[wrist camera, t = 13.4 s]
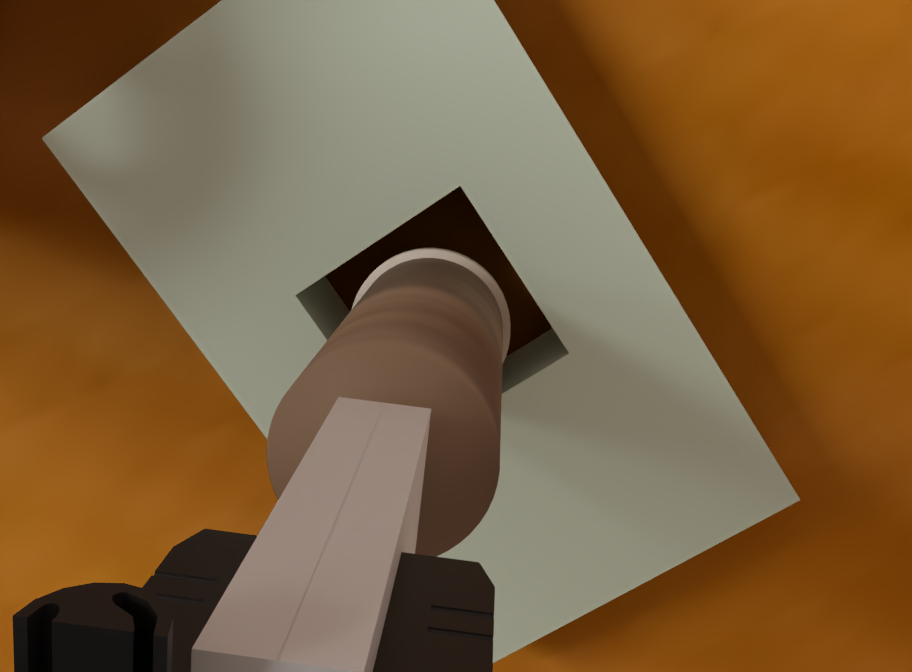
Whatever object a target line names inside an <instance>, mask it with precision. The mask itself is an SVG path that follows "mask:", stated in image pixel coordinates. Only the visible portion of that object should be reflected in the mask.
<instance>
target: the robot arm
mask: <svg viewBox="0 0 912 672" xmlns="http://www.w3.org/2000/svg"><path fill="white" fill-rule="evenodd" d="M430 416H431V409H430V408H422V407H414V406H406V405H399V404H391V403H383V402H375V401H367V400H359V399H352V398H344V397H338V399H337V401H336V402H335V404H334V406H333V407H332V409H331V411H330V413H329V414H328V416H327V418H326V419H325V421H324V423H323V425H322V426H321V428H320V430H319V431H318V433H317V435H316V437H315V438H314V440H313V442H312V443H311V445H310V447H309V449H308V450H307V452H306V454H305V455H304V457H303V459H302V461H301V462H300V464H299V466H298V467H297V469H296V471H295V473H294V474H293V476H292V478H291V479H290V481H289V483H288V485H287V486H286V488H285V490H284V491H283V493H282V495H281V497H280V498H279V500H278V502H277V503H276V505H275V507H274V509H273V510H272V512H271V514H270V515H269V517H268V519H267V521H266V522H265V524H264V526H263V527H262V529H261V531H260V533H259V534H258V536H255V535H248V534H240V533H232V532H225V531H217V530H210V529H204V530H202V531H200V532H198V533H197V534H195V535H193V536H191V537H190V538H188V539H186V540H185V541H183V542H181V543H179V544H178V545H176V546H174V547H173V548H172V549H171V551H170V552H169V553H168V555H167V556H166V557H165V559H164V560H163V561H162V563H161V564H160V565H159V567H158V568H157V569H156V571H155V575H154V576H151V577H150V578H149V580H148V581H147V582H146V584H145V585H144V586H143V588H140V587H136V586H132V585H128V584H125V583H90V584H85V585H79V586H73V587H68V588H63V589H60V590H58V591H55V592H53V593H50V594H48V595H45V596H43V597H40V598H38V599H35V600H34V601H32V602H31V603H29V604H28V605H27V606H25V607H24V608H23V609H21V610H20V611H19V612H17V613H16V614H14V615H13V639H14V672H492V669H493V635H494V602H495V586H494V585H493V583H492V581H491V580H490V578H489V577H488V575H487V574H486V572H485V570H484V569H483V567H482V566H481V564H480V563H479V562H473V561H465V560H458V559H450V558H443V557H435V556H428V555H420V554H415V550H416V541H417V532H418V523H419V514H420V505H421V496H422V487H423V478H424V469H425V461H426V452H427V443H428V434H429V425H430Z"/></svg>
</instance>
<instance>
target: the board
mask: <svg viewBox="0 0 912 672" xmlns="http://www.w3.org/2000/svg"><path fill="white" fill-rule="evenodd" d="M42 140H43V141H44V142H45V144H46V145H47V146H48V148H49V149H50V150H51V152H52V153H53V154H54V156H55V157H56V158H57V160H58V161H59V162H60V164H61V165H62V166H63V168H64V169H65V170H66V172H67V173H68V174H69V176H70V177H71V178H72V180H73V181H74V182H75V184H76V185H77V186H78V188H79V189H80V190H81V192H82V193H83V194H84V196H85V197H86V198H87V200H88V201H89V202H90V204H91V205H92V206H93V208H94V209H95V210H96V212H97V213H98V214H99V216H100V217H101V218H102V220H103V221H104V222H105V224H106V225H107V226H108V228H109V229H110V230H111V232H112V233H113V234H114V236H115V237H116V238H117V240H118V241H119V242H120V244H121V245H122V246H123V248H124V249H125V250H126V252H127V253H128V254H129V256H130V257H131V258H132V260H133V261H134V262H135V264H136V265H137V266H138V268H139V269H140V270H141V272H142V273H143V274H144V276H145V277H146V278H147V280H148V281H149V282H150V284H151V285H152V286H153V288H154V289H155V290H156V292H157V293H158V294H159V296H160V297H161V298H162V300H163V301H164V302H165V304H166V305H167V306H168V308H169V309H170V310H171V312H172V313H173V314H174V316H175V317H176V318H177V320H178V321H179V322H180V324H181V325H182V326H183V328H184V329H185V330H186V332H187V333H188V334H189V336H190V337H191V338H192V340H193V341H194V342H195V344H196V345H197V346H198V348H199V349H200V350H201V352H202V353H203V354H204V356H205V357H206V358H207V360H208V361H209V362H210V364H211V365H212V366H213V368H214V369H215V370H216V372H217V373H218V374H219V376H220V377H221V378H222V380H223V381H224V382H225V384H226V385H227V386H228V388H229V389H230V390H231V392H232V393H233V394H234V396H235V397H236V398H237V400H238V401H239V402H240V404H241V405H242V406H243V408H244V409H245V410H246V412H247V413H248V414H249V416H250V417H251V418H252V420H253V421H254V422H255V424H256V425H257V426H258V428H259V429H260V430H261V432H262V433H263V434H264V436H265V437H266V438H267V440H268V433H269V429H270V424H271V421H272V419H273V416H274V413H275V411H276V409H277V407H278V405H279V403H280V401H281V400H282V398H283V396H284V395H285V394H286V392H287V391H288V390H289V388H290V387H291V386H292V384H293V383H294V382H295V381H296V379H297V378H298V377H299V376H300V374H301V373H302V372H303V370H304V369H305V368H306V367H307V365H308V364H309V363H310V362H311V360H312V359H313V358H314V357H315V355H316V354H317V353H318V352H319V350H320V349H321V348H322V347H323V345H324V344H325V343H326V342H327V340H328V339H329V338H330V336H331V335H332V334H333V333H334V331H335V330H336V329H337V328H338V326H339V325H340V324H341V323H342V321H343V320H344V319H345V318H346V316H347V315H348V314H349V313H350V311H349V309H348V308H347V307H346V305H345V304H344V302H343V301H342V299H341V298H340V297H339V295H338V294H337V292H336V291H335V290H334V288H333V287H332V285H331V284H330V282H329V281H328V280H327V278H326V277H325V275H327V274H328V273H330V272H331V271H333V270H334V269H336V268H337V267H339V266H340V265H342V264H343V263H345V262H346V261H348V260H349V259H351V258H352V257H354V256H355V255H357V254H358V253H360V252H361V251H363V250H364V249H366V248H367V247H369V246H370V245H372V244H373V243H375V242H376V241H378V240H379V239H381V238H382V237H384V236H385V235H387V234H388V233H390V232H391V231H393V230H394V229H396V228H397V227H399V226H400V225H402V224H403V223H405V222H406V221H408V220H409V219H411V218H412V217H414V216H415V215H417V214H418V213H420V212H421V211H423V210H424V209H426V208H427V207H429V206H430V205H432V204H433V203H435V202H436V201H438V200H439V199H441V198H443V197H444V196H446V195H447V194H449V193H450V192H452V191H453V190H455V189H456V188H458V187H459V186H461V188H462V189H463V191H464V192H465V194H466V196H467V197H468V199H469V200H470V202H471V203H472V205H473V206H474V208H475V209H476V211H477V212H478V214H479V216H480V217H481V219H482V220H483V222H484V223H485V225H486V226H487V228H488V229H489V231H490V232H491V234H492V235H493V237H494V239H495V240H496V242H497V243H498V245H499V246H500V248H501V249H502V251H503V252H504V254H505V255H506V257H507V259H508V260H509V262H510V263H511V265H512V266H513V268H514V269H515V271H516V272H517V274H518V275H519V277H520V279H521V280H522V282H523V283H524V285H525V286H526V288H527V289H528V291H529V292H530V294H531V295H532V297H533V298H534V300H535V302H536V303H537V305H538V306H539V308H540V309H541V311H542V312H543V314H544V315H545V317H546V318H547V320H548V322H549V323H550V325H551V326H552V329H550V330H549V331H547V332H545V333H544V334H542V335H540V336H539V337H537V338H535V339H534V340H532V341H531V342H529V343H527V344H526V345H524V346H522V347H521V348H519V349H517V350H516V351H514V352H513V353H511V354H509V355H508V356H506V358H505V360H504V362H503V364H502V397H501V438H500V472H499V479H498V485H497V488H496V491H495V495H494V498H493V500H492V502H491V505H490V507H489V509H488V511H487V513H486V514H485V516H484V517H483V519H482V520H481V522H480V523H479V524H478V526H477V527H476V528H475V529H474V530H473V531H472V532H471V534H470V535H468V536H467V537H466V538H465V539H464V540H463V541H462V542H460V543H459V544H458V545H456V546H455V547H453V548H452V549H450V550H449V551H447V552H445V553H443V554H441V555H439V556H437V557H443V558H450V559H458V560H465V561H473V562H479V563H480V564H481V566H482V567H483V569H484V570H485V572H486V574H487V575H488V577H489V578H490V580H491V581H492V583H493V585H494V586H495V602H494V635H493V663H494V662H496V661H498V660H500V659H502V658H504V657H506V656H507V655H509V654H511V653H513V652H515V651H517V650H519V649H521V648H523V647H524V646H526V645H528V644H530V643H532V642H534V641H536V640H538V639H539V638H541V637H543V636H545V635H547V634H549V633H551V632H553V631H555V630H556V629H558V628H560V627H562V626H564V625H566V624H568V623H570V622H572V621H573V620H575V619H577V618H579V617H581V616H583V615H585V614H587V613H588V612H590V611H592V610H594V609H596V608H598V607H600V606H602V605H604V604H605V603H607V602H609V601H611V600H613V599H615V598H617V597H619V596H621V595H622V594H624V593H626V592H628V591H630V590H632V589H634V588H636V587H637V586H639V585H641V584H643V583H645V582H647V581H649V580H651V579H653V578H654V577H656V576H658V575H660V574H662V573H664V572H666V571H668V570H670V569H671V568H673V567H675V566H677V565H679V564H681V563H683V562H685V561H686V560H688V559H690V558H692V557H694V556H696V555H698V554H700V553H702V552H703V551H705V550H707V549H709V548H711V547H713V546H715V545H717V544H719V543H720V542H722V541H724V540H726V539H728V538H730V537H732V536H734V535H735V534H737V533H739V532H741V531H743V530H745V529H747V528H749V527H751V526H752V525H754V524H756V523H758V522H760V521H762V520H764V519H766V518H768V517H769V516H771V515H773V514H775V513H777V512H779V511H781V510H783V509H785V508H786V507H788V506H790V505H792V504H794V503H796V502H798V501H800V499H799V497H798V495H797V494H796V492H795V490H794V489H793V487H792V485H791V484H790V482H789V481H788V479H787V477H786V476H785V474H784V472H783V471H782V469H781V468H780V466H779V464H778V463H777V461H776V459H775V458H774V456H773V454H772V453H771V451H770V450H769V448H768V446H767V445H766V443H765V441H764V440H763V438H762V437H761V435H760V433H759V432H758V430H757V428H756V427H755V425H754V423H753V422H752V420H751V419H750V417H749V415H748V414H747V412H746V410H745V409H744V407H743V406H742V404H741V402H740V401H739V399H738V397H737V396H736V394H735V392H734V391H733V389H732V388H731V386H730V384H729V383H728V381H727V379H726V378H725V376H724V375H723V373H722V371H721V370H720V368H719V366H718V365H717V363H716V361H715V360H714V358H713V357H712V355H711V353H710V352H709V350H708V348H707V347H706V345H705V344H704V342H703V340H702V339H701V337H700V335H699V334H698V332H697V330H696V329H695V327H694V326H693V324H692V322H691V321H690V319H689V317H688V316H687V314H686V313H685V311H684V309H683V308H682V306H681V304H680V303H679V301H678V299H677V298H676V296H675V295H674V293H673V291H672V290H671V288H670V286H669V285H668V283H667V282H666V280H665V278H664V277H663V275H662V273H661V272H660V270H659V268H658V267H657V265H656V264H655V262H654V260H653V259H652V257H651V255H650V254H649V252H648V251H647V249H646V247H645V246H644V244H643V242H642V241H641V239H640V237H639V236H638V234H637V233H636V231H635V229H634V228H633V226H632V224H631V223H630V221H629V220H628V218H627V216H626V215H625V213H624V211H623V210H622V208H621V206H620V205H619V203H618V202H617V200H616V198H615V197H614V195H613V193H612V192H611V190H610V189H609V187H608V185H607V184H606V182H605V180H604V179H603V177H602V175H601V174H600V172H599V171H598V169H597V167H596V166H595V164H594V162H593V161H592V159H591V158H590V156H589V154H588V153H587V151H586V149H585V148H584V146H583V144H582V143H581V141H580V140H579V138H578V136H577V135H576V133H575V131H574V130H573V128H572V127H571V125H570V123H569V122H568V120H567V118H566V117H565V115H564V113H563V112H562V110H561V109H560V107H559V105H558V104H557V102H556V100H555V99H554V97H553V96H552V94H551V92H550V91H549V89H548V87H547V86H546V84H545V82H544V81H543V79H542V78H541V76H540V74H539V73H538V71H537V69H536V68H535V66H534V65H533V63H532V61H531V60H530V58H529V56H528V55H527V53H526V51H525V50H524V48H523V47H522V45H521V43H520V42H519V40H518V38H517V37H516V35H515V34H514V32H513V30H512V29H511V27H510V25H509V24H508V22H507V20H506V19H505V17H504V16H503V14H502V12H501V11H500V9H499V7H498V6H497V4H496V3H495V1H494V0H221V1H220V2H219V3H217V4H216V5H215V6H213V7H212V8H211V9H209V10H208V11H207V12H205V13H204V14H203V15H202V16H200V17H199V18H198V19H196V20H195V21H194V22H192V23H191V24H190V25H188V26H187V27H186V28H185V29H183V30H182V31H181V32H179V33H178V34H177V35H175V36H174V37H173V38H172V39H170V40H169V41H168V42H166V43H165V44H164V45H162V46H161V47H160V48H158V49H157V50H156V51H155V52H153V53H152V54H151V55H149V56H148V57H147V58H145V59H144V60H143V61H141V62H140V63H139V64H138V65H136V66H135V67H134V68H132V69H131V70H130V71H128V72H127V73H126V74H124V75H123V76H122V77H121V78H119V79H118V80H117V81H115V82H114V83H113V84H111V85H110V86H109V87H107V88H106V89H105V90H104V91H102V92H101V93H100V94H98V95H97V96H96V97H94V98H93V99H92V100H91V101H89V102H88V103H87V104H85V105H84V106H83V107H81V108H80V109H79V110H77V111H76V112H75V113H74V114H72V115H71V116H70V117H68V118H67V119H66V120H64V121H63V122H62V123H60V124H59V125H58V126H57V127H55V128H54V129H53V130H51V131H50V132H49V133H47V134H46V135H45V136H43V137H42Z"/></svg>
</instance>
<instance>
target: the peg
mask: <svg viewBox="0 0 912 672" xmlns="http://www.w3.org/2000/svg"><path fill="white" fill-rule="evenodd" d="M510 328H511V325H510V314H509V309H508V305H507V302H506V299H505V297H504V294H503V292H502V290H501V289H500V287H499V285H498V283H497V282H496V281H495V279H494V278H493V277H492V275H491V274H490V273H489V272H488V271H487V270H486V269H485V268H484V267H482V266H481V265H480V264H478V263H477V262H476V261H474V260H472V259H471V258H469V257H467V256H465V255H463V254H460V253H458V252H455V251H452V250H448V249H442V248H427V247H425V248H417V249H412V250H408V251H404V252H402V253H400V254H397V255H395V256H393V257H391V258H390V259H388V260H386V261H385V262H383V263H382V264H381V265H380V266H378V267H377V268H376V269H375V270H374V271H373V272H372V273H371V274H370V275H369V277H368V278H367V279H366V281H365V282H364V283H363V285H362V286H361V288H360V289H359V291H358V293H357V295H356V298H355V300H354V303H353V306H352V310H351V311H350V313H349V314H348V315H347V316H346V318H345V319H344V320H343V321H342V323H341V324H340V325H339V326H338V328H337V329H336V330H335V331H334V333H333V334H332V335H331V336H330V338H329V339H328V340H327V342H326V343H325V344H324V345H323V347H322V348H321V349H320V350H319V352H318V353H317V354H316V355H315V357H314V358H313V359H312V360H311V362H310V363H309V364H308V365H307V367H306V368H305V369H304V370H303V372H302V373H301V374H300V376H299V377H298V378H297V379H296V381H295V382H294V383H293V384H292V386H291V387H290V388H289V390H288V391H287V392H286V394H285V395H284V396H283V398H282V400H281V401H280V403H279V405H278V407H277V409H276V411H275V413H274V416H273V419H272V421H271V424H270V429H269V433H268V440H267V466H268V471H269V476H270V480H271V483H272V486H273V489H274V492H275V494H276V496H277V498H278V500H279V498H280V497H281V495H282V493H283V491H284V490H285V488H286V486H287V485H288V483H289V481H290V479H291V478H292V476H293V474H294V473H295V471H296V469H297V467H298V466H299V464H300V462H301V461H302V459H303V457H304V455H305V454H306V452H307V450H308V449H309V447H310V445H311V443H312V442H313V440H314V438H315V437H316V435H317V433H318V431H319V430H320V428H321V426H322V425H323V423H324V421H325V419H326V418H327V416H328V414H329V413H330V411H331V409H332V407H333V406H334V404H335V402H336V401H337V399H338V397H344V398H352V399H359V400H367V401H375V402H383V403H391V404H399V405H406V406H414V407H422V408H430V409H431V416H430V425H429V434H428V443H427V452H426V461H425V469H424V478H423V487H422V496H421V505H420V514H419V523H418V532H417V541H416V550H415V554H420V555H428V556H435V557H437V556H439V555H441V554H443V553H445V552H447V551H449V550H450V549H452V548H453V547H455V546H456V545H458V544H459V543H460V542H462V541H463V540H464V539H465V538H466V537H467V536H468V535H470V534H471V532H472V531H473V530H474V529H475V528H476V527H477V526H478V524H479V523H480V522H481V520H482V519H483V517H484V516H485V514H486V513H487V511H488V509H489V507H490V505H491V502H492V500H493V498H494V495H495V491H496V488H497V485H498V479H499V472H500V438H501V397H502V364H503V362H504V360H505V358H506V355H507V351H508V348H509V342H510Z"/></svg>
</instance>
